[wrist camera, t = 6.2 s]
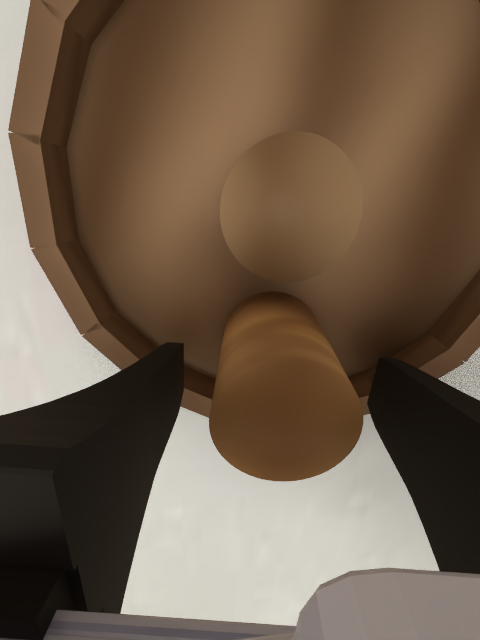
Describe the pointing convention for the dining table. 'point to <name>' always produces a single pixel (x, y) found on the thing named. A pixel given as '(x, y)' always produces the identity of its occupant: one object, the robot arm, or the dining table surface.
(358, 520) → the dining table surface
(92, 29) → the ring tray
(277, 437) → the brown wooden cylinder
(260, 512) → the dining table surface
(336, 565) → the dining table surface
